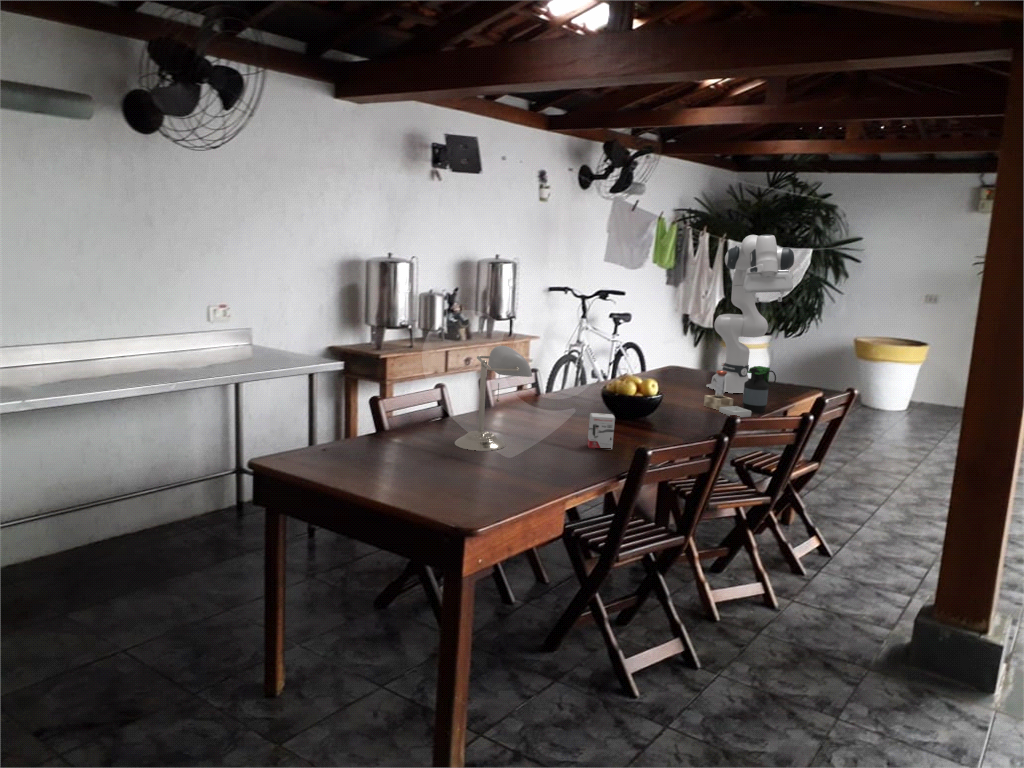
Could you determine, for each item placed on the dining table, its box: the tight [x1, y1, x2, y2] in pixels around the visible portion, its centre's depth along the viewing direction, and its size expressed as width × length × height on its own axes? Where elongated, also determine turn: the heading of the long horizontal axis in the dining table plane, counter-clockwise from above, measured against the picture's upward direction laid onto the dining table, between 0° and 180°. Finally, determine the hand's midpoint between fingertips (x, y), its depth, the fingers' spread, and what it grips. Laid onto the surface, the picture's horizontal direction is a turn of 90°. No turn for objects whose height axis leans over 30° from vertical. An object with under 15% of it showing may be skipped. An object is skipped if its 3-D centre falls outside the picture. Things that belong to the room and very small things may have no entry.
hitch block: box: [703, 394, 734, 411], centre depth 363 cm, size 9×9×5 cm
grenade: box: [741, 365, 777, 414], centre depth 361 cm, size 11×13×20 cm
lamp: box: [454, 345, 533, 452], centre depth 278 cm, size 26×24×34 cm
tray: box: [718, 405, 752, 418], centre depth 351 cm, size 10×10×2 cm
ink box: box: [586, 412, 616, 450], centre depth 284 cm, size 9×5×12 cm, turn 90°
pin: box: [714, 369, 727, 398], centre depth 361 cm, size 5×5×17 cm
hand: (768, 301), depth 341 cm, fingers open, 8 cm apart
